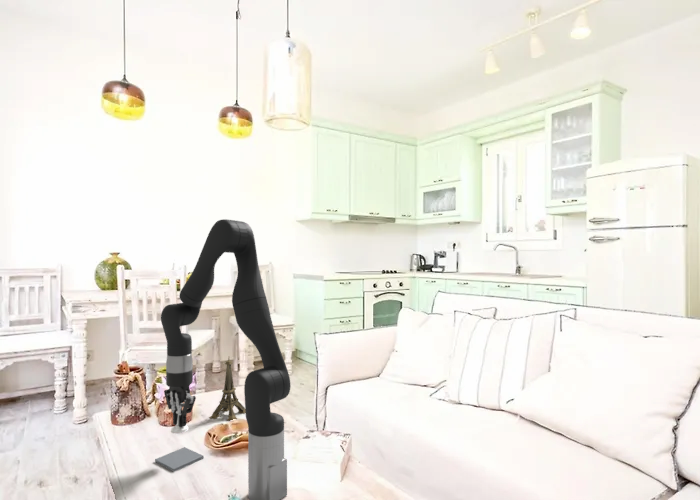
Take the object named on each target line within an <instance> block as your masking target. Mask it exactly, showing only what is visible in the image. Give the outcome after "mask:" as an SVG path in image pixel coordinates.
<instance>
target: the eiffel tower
mask: <svg viewBox="0 0 700 500" xmlns="http://www.w3.org/2000/svg"><path fill="white" fill-rule="evenodd" d="M227 359H228V360H227V361H225V363H224V365H225V366H226V370H225V379H224V387H223V388H224V389H222V396H221V399H220V401H219V403H218V406H216V408H215V409H214V411H213V412H212V414H211V416H209V417H208V419H213V420H215V419H217V418H219V417H220V413H221V412H228V415H227V416H228V418H227V419H226V421H229V422H231V421H230V420H233V419H236V420H238V418H237V416H236V414H235V411H234V410H233V408H234V407H235V408H236V409H237V410H238V412H237V413H238V414H244V415H246V412H245V406H244V405H243V404H242V403H241V402H240V401H239V398H238V397H237V395H236V391H235V390H236V389H237V388H236V387H234V379H233V369H232V364H233V360H230V357H228V358H227Z"/></svg>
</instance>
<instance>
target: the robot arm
mask: <svg viewBox="0 0 700 500" xmlns="http://www.w3.org/2000/svg"><path fill="white" fill-rule="evenodd" d="M254 234H255V233H254V231H253V229H252V227H251V226H250V224H248V223H247V222H245V221H240V220H233V219H226V218H225V219H219V220H217V221H216V222H215V223H214V224H213V225H212V227H211V228H210V230H209V233H208V234H207V237H206V239H205V242H204V244H203V247H202V249H201V252H200V254H199V257H198V260H197V261H196V264H195V267H194V269H193V271H192V272H191V274H190V275H189V277H188V278H187V281H186V282H185V283H184V285H183V287H182V288H181V290H180V291H179V299H180V301H181V302H179V303H172V304H171V303H170V304H168V305H166V306H165V307H164V308H162V311H161V313H160V314H161V315H160V321H161V326H162V328H163V332H164V336H165V339H166V360H165V362H166V363H165V381H166V382H165V384H166V386H167V387H168V389H165V390H164V392H163V393H164V397H165V401H166V405H167V409H168V410H170V411H171V413H172V424H173V426H176V424H177V419H178V426H179V427H184V426H186V425H187V414H189V413H192V411H193V407H194V405H195V402H196V399H197V398H196V395H193V396H192V395H191V390H190V386H191V385H192V383H193V382H194V381H193V378H194V376H193V375H194V374H193V372H194V371H193V370H194V369H193V361H194V360H193V351H192V348H193V345H192V344H193V343H192V335H190V334H188V333H184V332H182V331H181V327H185V326H189V325H192V324H193V323H195V321H197V319H198V317H199V314H200V310H201V308H202V304H203V301H204V300H205V299H206V297H207V296H208V294H209V293H210V291H211V289H212V288H213V285H214V281H215V266H216V264H217V262H218V260H219V259H220V258H221V256H223V254H225V253H228V254H229V253H230V254H233V255H234V258H235V261H236V267H237V276H236V280H235V284H234V287H233V291H232V294H231V295H232V296H231V303H232V307H233V313H234V317H235V321H236V324H237V326H238V328H239V329H240V331H241V332H242V333H243V334H244V335H245V336H246V338H248V340H249V341H250V342H251V343H252V344H253V345H254V347H255V348H256V350H257V351H258V354H259V357H260V359H261V362H262V366H263V368H262V367H261V368H259V369H254V370H253V371H250V372H248V374H247V375H246V377H245V381H244V386H243V387H244V388H243V390H244V391H243V393H244V408H245V412H246V413H245V419H246V423H247V428H248V433H247V434H248V435H247V437H248V442H247V443H248V445H247V446H248V447H247V448H248V451H247V452H248V455H247V456H248V461H247V462H248V465H247V466H248V469H247V470H248V472H247V474H248V475H247V476H248V477H247V478H248V482H247V483H248V489H247V490H248V499H249V500H282V499H284V498H285V497H286V496H287V495H288V459H287V458H285V419H284V416H282V415H281V414H279V413H276V412H271V404H273V403H277V402H278V401H283V400H284V399H285V398H287V397H288V395H289V394H290V392H291V385H292V384H291V377H290V375H289V371H288V367H287V365H286V363H285V359H284V356H283V354H282V351H281V349H280V348H281V347H280V345H279V342H278V340H277V339H278V338H277V334H276V331H275V327H274V325H273V321H272V316H271V311H270V307H269V303H268V299H267V296H266V293H265V290H264V289H265V288H264V284H263V280H262V276H261V275H262V274H261V271H260V266H259V261H258V254H257V248H256V247H257V246H256V240H255V235H254ZM180 403H182V404H180ZM177 407H178V409H177ZM176 411H178V413H179V415H178V414H177V413H176Z"/></svg>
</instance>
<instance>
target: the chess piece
mask: <svg viewBox="0 0 700 500" xmlns="http://www.w3.org/2000/svg"><path fill="white" fill-rule="evenodd" d="M180 404H182V403H180ZM177 409H178V407H177ZM176 413H177V414H178V415H179V413H178V411H176ZM187 431H189V426H188V425H187V424H186V426H184V427H179V426H178V419H177V424H176V425H173V426H172V427H171V429H170V432H171V433H172V434H175V435H176V434H183V433H185V432H187Z"/></svg>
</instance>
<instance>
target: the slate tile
mask: <svg viewBox="0 0 700 500" xmlns="http://www.w3.org/2000/svg"><path fill="white" fill-rule="evenodd" d="M204 458H205V457H204V455H202V454H200V453H198V452H197V451H194V450H192V449H190V448H188V447H185V446H184V447H181V448H178V449H177V450H173V451H172V452H169V453H167V454H165V455H162V456H159V457H157V458H154V462H155V463H157V464H159V465H160V466H162V467H164V468H165V469H167V470H169V471H172V472H174V473H175V472H176V471H180V470H181V469H184V468H185V467H188V466H190V465H192V464H194V463H196V462H199V461H201V460H203V459H204Z"/></svg>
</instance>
